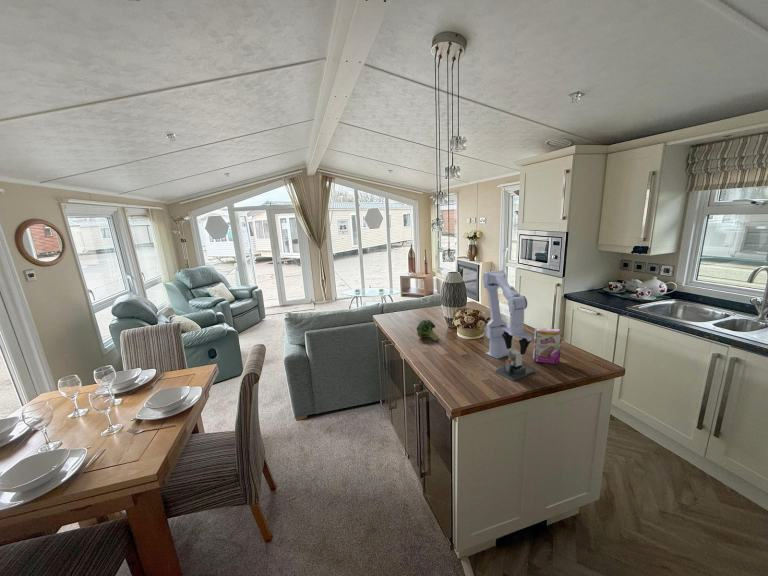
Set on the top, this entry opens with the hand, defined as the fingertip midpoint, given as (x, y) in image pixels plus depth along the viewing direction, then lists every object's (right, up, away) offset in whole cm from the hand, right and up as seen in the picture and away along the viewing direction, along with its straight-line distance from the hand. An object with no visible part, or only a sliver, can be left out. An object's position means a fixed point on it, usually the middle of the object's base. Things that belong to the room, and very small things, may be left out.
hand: (515, 351), depth 142 cm
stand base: (0, -10, +2) cm, 10 cm away
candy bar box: (+19, -7, +11) cm, 23 cm away
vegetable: (-33, -2, +49) cm, 59 cm away
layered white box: (0, -6, +1) cm, 6 cm away
